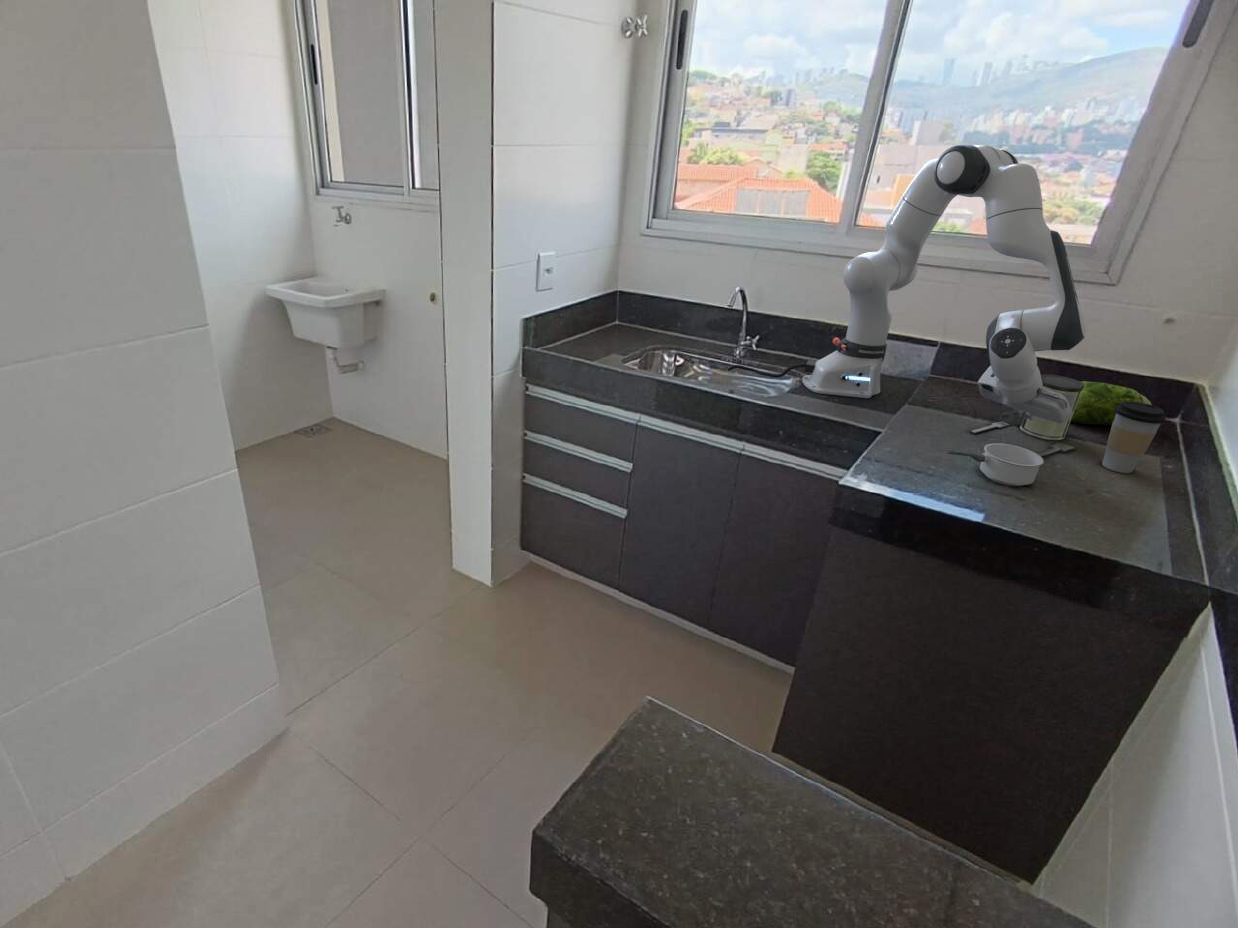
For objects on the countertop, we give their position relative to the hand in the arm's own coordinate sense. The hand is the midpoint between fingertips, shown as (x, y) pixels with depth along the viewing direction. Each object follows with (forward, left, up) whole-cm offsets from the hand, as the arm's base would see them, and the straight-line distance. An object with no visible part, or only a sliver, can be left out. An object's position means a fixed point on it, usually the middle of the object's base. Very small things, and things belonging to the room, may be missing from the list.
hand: (1028, 416), depth 162 cm
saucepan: (-21, -22, -6) cm, 31 cm away
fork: (-4, +6, -6) cm, 10 cm away
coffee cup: (+14, -15, -6) cm, 22 cm away
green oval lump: (+30, +13, -6) cm, 34 cm away
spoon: (+4, -7, -6) cm, 10 cm away
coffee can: (+9, +5, -6) cm, 12 cm away
